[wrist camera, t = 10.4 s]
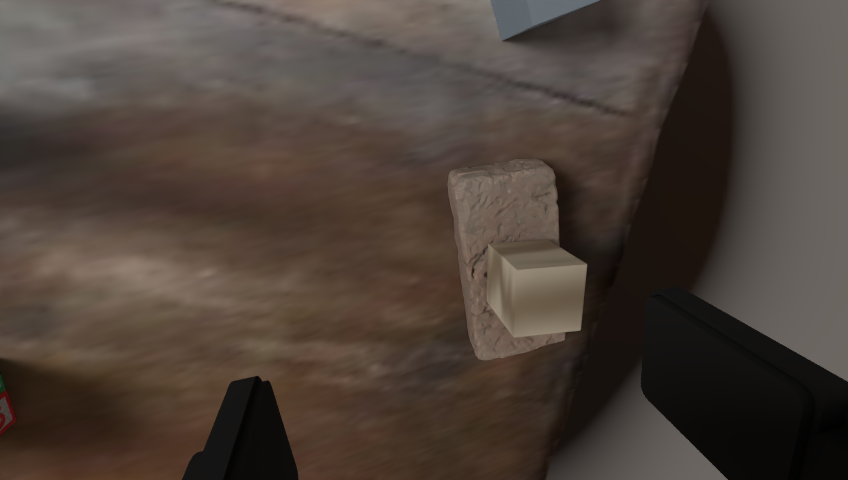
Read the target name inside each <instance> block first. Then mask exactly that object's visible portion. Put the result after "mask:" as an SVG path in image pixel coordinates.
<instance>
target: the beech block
mask: <svg viewBox="0 0 848 480" xmlns="http://www.w3.org/2000/svg"><path fill="white" fill-rule="evenodd" d="M586 271H587V264H586V263H584V262H583V261H581V260H580V259H578V258H576V257H575V256H573V255H572V254H570V253H568V252H567V251H565V250H563V249H562V248H560V247H559V246H557V245H555V244H554V243H552V242H551V241H549V240H533V241H519V242H505V243H490V244H488V272H487V302H488V304H489V305H490V307H491V308H492V309H493V311H494V312H495V313H496V315H497V316H498V317H499V319H500V320H501V321H502V323H503V324H504V325H505V327H506V328H507V329H508V331H509V332H510V333H511V335H512V336H513V337H514V338H515V337H524V336H534V335H543V334H552V333H561V332H571V331H580V330H581V321H582V311H583V301H584V291H585V281H586Z"/></svg>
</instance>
